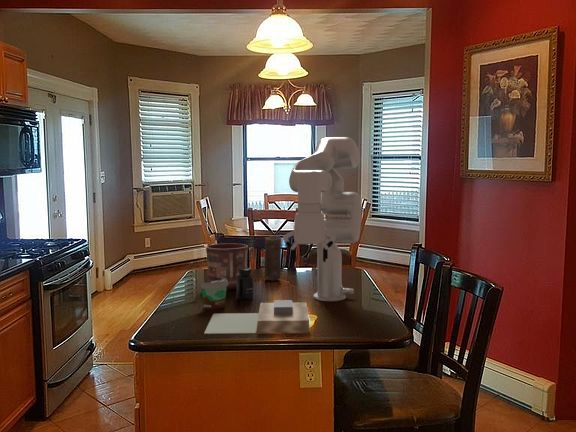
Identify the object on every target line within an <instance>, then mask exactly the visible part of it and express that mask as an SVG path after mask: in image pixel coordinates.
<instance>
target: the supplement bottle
mask: <svg viewBox="0 0 576 432" xmlns="http://www.w3.org/2000/svg"><path fill="white" fill-rule="evenodd" d="M239 274H240V275H238V276H237V278H236V289H235V290H236V300H239V301H251V300H254V298H255V278H254V275H253V274H252V268H251V267H247V268H240V269H239Z"/></svg>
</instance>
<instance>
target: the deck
mask: <svg viewBox="0 0 576 432" xmlns="http://www.w3.org/2000/svg"><path fill="white" fill-rule="evenodd" d="M292 305H293V315H274V302H260V304H259V309H258V313H259V315H258V320H257V334H258V335H259V334H260V335H261V334H310V317H309V311H308V306H307V302H306V301H305V302H304V301H303V302H298V301H297V302H292Z"/></svg>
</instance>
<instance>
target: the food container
mask: <svg viewBox="0 0 576 432" xmlns="http://www.w3.org/2000/svg"><path fill="white" fill-rule="evenodd" d="M227 286H228V281H227V279H226V278H225V277H221V279H220V280H217V281H211V282H209V281H208V282H201V283H200V289H201V293H202V294H201V295H202V304H203V309H204V310H220V309H223V308H225V307H226V303H227V302H226V299H227V290H226V287H227Z"/></svg>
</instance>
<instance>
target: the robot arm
mask: <svg viewBox="0 0 576 432" xmlns="http://www.w3.org/2000/svg"><path fill="white" fill-rule="evenodd" d="M357 145H358V144H357V143H356V142H355V140H354V139H353V138H351V137H349V136H333V137H332V136H331V137H330V136H329V137H324V138H321V139H320V140H319V141H318V143H317V145H316V146H315V148H314V151H313V154H311V155H309V156H307V157H304V158H302V159H301V160H298V161H297V162H296V163H295V164H294V166H293V167H292V169H291V172H290V175H289V178H288V183H289V184H288V185H289V188H290V189H291V191H293V192H295V193H297V212H296V213H295V214H294V222H293V223H294V224H293V230H292V231H289V232H288V233H286V234H284V235H283V236H282V238H283V240H284V243H285V244H286V245H287V246H288V247H289V248H290V250H291V260H293V262H294V263H296V262H297V249H296V247H298V245H316V254H317V257H316V260H317V262H316V264H317V265H316V267H317V268H316V269H317V271H316V275H317V278H316V280H317V281H316V283H317V291H316V292H315V293H314V294H313V295H312V296H313V299H314V300H317V301H321V302H339V301H344V300H345V299H346V294H348V295H351V294H354V293H355V291H354V288H350V287H343V284H342V283H343V282H342V280H343V279H342V277H343V276H342V275H343V273H342V272H343V271H342V270H343V269H342V268H343V266H342V263H343V261H342V260H343V256H342V255H343V254H342V251H341V248H339V246H338V245H337V243H348V244H349V243H352V244H355V243H356V242H358V241H359V239H360V235H361V228H362V227H361V226H362V225H361V224H362V213H363V212H362V211H363V210H362V209H363V208H362V207H363V205H362V204H363V202H362V197H361V195H360V194H359V193H358V192H355V191H345V190H344V189H345V180H344V178H343V177H342V175H341V174H340V173H339V172H338V171H337V170H336V169H355V168H357V167H358V166H359V165H360V163H361V153H360V149H359V147H358V146H357ZM324 215H325V216H332V217H325V216H324ZM292 236H293V240H294V242H293V243H292V242H290V240H289V239H290V238H291V237H292Z"/></svg>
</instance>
